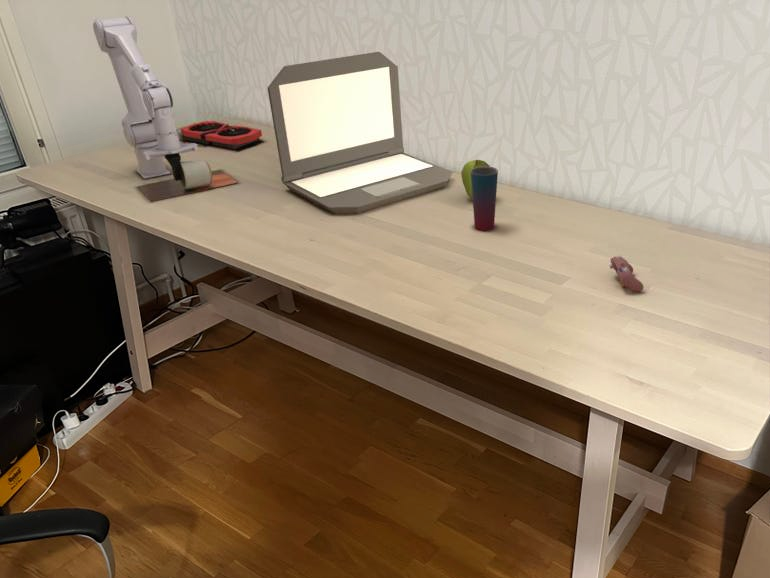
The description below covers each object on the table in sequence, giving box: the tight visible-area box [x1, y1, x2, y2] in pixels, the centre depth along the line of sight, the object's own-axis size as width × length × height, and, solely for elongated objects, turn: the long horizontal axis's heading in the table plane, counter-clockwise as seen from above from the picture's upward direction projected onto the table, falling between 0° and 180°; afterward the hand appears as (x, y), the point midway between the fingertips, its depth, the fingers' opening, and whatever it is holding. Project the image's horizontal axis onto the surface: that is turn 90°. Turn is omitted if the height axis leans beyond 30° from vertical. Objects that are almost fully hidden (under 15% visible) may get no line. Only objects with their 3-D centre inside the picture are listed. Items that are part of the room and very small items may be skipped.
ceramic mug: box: [179, 160, 213, 189], centre depth 204 cm, size 11×8×8 cm
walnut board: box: [137, 169, 238, 203], centre depth 208 cm, size 15×25×1 cm, turn 126°
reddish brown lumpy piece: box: [609, 255, 644, 293], centre depth 152 cm, size 10×5×7 cm, turn 5°
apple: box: [461, 159, 491, 201], centre depth 193 cm, size 9×8×12 cm
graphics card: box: [176, 120, 264, 152], centre depth 244 cm, size 20×32×4 cm, turn 57°
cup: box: [471, 165, 499, 232], centre depth 176 cm, size 7×7×15 cm
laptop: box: [267, 51, 454, 215], centre depth 196 cm, size 43×31×34 cm
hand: (178, 179), depth 203 cm, fingers closed, pressing on ceramic mug
